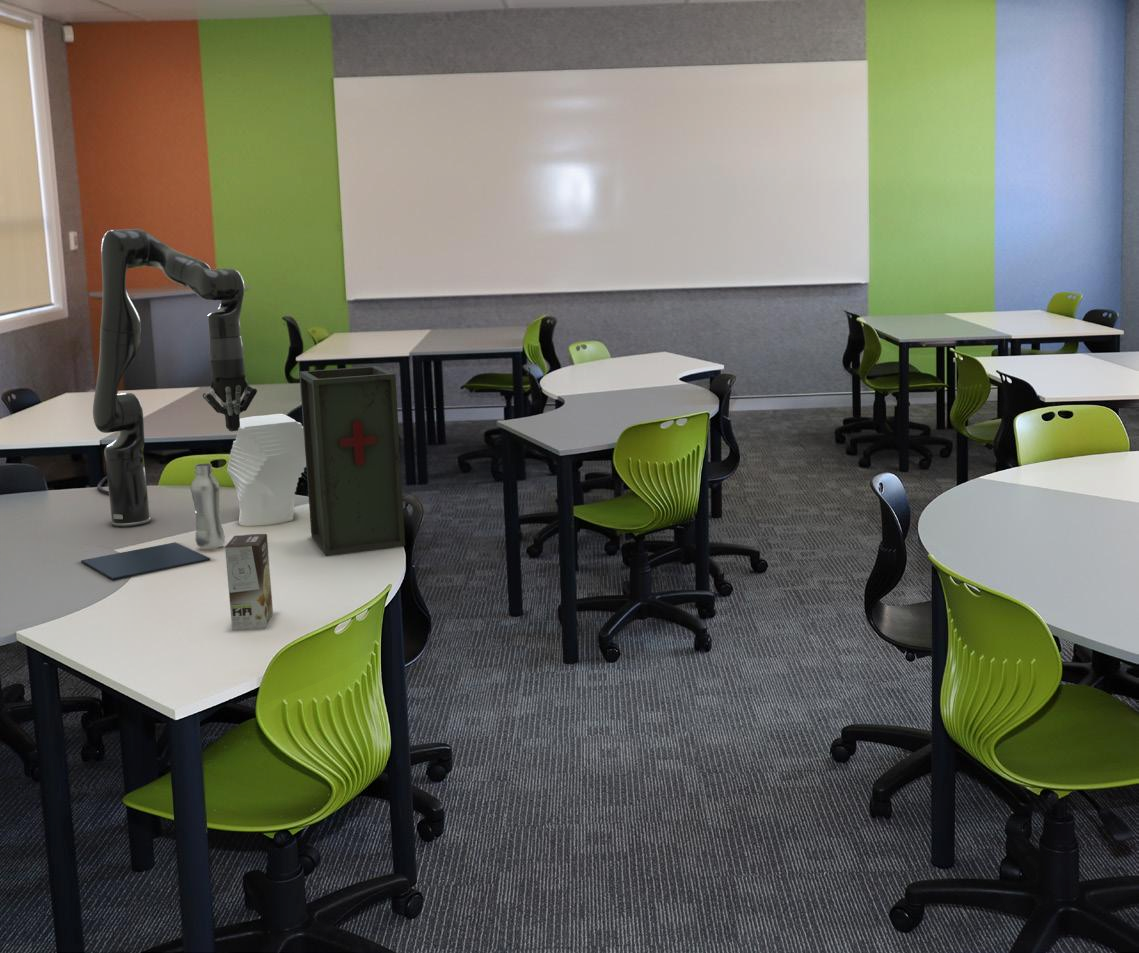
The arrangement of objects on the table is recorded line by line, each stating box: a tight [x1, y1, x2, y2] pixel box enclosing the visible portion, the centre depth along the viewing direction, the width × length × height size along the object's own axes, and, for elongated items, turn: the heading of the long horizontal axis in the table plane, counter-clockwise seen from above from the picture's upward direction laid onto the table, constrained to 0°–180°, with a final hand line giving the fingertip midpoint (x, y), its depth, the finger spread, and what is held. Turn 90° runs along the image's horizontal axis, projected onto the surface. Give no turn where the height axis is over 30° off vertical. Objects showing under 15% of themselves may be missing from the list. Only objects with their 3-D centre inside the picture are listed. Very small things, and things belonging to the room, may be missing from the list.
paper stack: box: [226, 413, 306, 527], centre depth 313 cm, size 21×27×26 cm
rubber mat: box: [80, 541, 211, 581], centre depth 275 cm, size 20×22×1 cm
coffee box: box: [224, 533, 274, 631], centre depth 229 cm, size 9×6×16 cm
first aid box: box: [298, 365, 406, 557], centre depth 283 cm, size 18×18×40 cm
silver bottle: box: [190, 462, 226, 550], centre depth 283 cm, size 6×7×20 cm
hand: (233, 430), depth 284 cm, fingers closed
